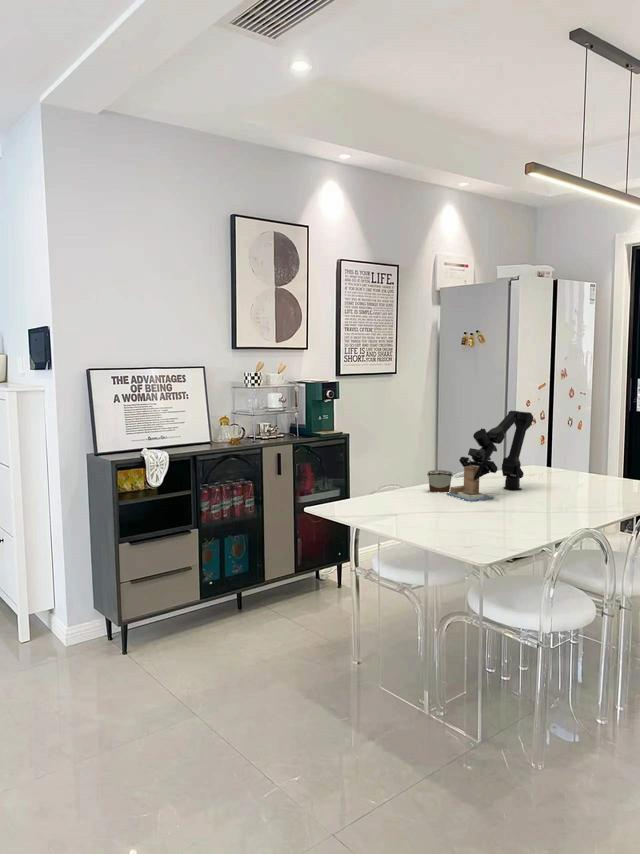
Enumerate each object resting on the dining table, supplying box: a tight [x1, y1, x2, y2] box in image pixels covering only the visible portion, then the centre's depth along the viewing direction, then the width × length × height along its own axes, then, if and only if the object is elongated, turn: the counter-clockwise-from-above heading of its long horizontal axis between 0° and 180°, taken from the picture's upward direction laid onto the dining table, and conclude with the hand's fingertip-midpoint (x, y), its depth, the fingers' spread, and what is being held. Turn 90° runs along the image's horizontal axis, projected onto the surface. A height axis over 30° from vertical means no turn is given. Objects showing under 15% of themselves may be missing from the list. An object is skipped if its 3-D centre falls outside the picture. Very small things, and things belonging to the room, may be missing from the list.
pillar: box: [463, 466, 480, 494], centre depth 319 cm, size 5×5×12 cm
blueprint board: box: [446, 485, 495, 502], centre depth 322 cm, size 14×17×4 cm
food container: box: [427, 469, 453, 493], centre depth 334 cm, size 12×6×10 cm, turn 84°
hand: (469, 478), depth 318 cm, fingers closed on pillar, 5 cm apart
